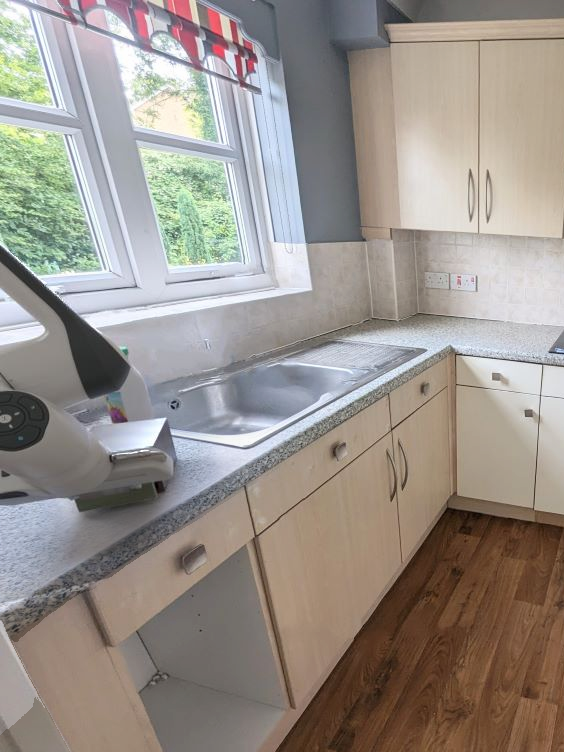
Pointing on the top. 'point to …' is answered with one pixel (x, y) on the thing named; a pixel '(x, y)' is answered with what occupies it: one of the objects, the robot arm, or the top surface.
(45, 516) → the top surface
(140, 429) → the cabinet
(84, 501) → the drawer
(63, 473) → the robot arm
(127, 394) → the milk bottle
